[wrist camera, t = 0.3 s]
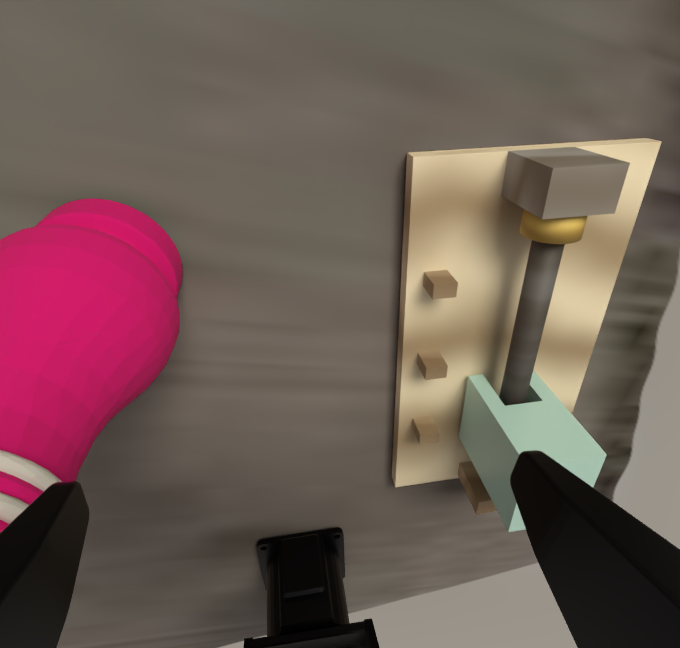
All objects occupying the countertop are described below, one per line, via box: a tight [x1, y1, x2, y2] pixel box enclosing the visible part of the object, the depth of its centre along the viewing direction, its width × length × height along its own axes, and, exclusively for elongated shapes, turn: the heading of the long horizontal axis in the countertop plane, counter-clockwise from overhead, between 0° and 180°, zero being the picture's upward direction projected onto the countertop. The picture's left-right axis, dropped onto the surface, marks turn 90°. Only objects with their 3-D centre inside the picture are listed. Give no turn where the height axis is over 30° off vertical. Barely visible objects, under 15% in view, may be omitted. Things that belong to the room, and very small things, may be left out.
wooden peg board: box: [392, 138, 662, 514], centre depth 25 cm, size 22×12×5 cm, turn 2°
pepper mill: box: [0, 199, 182, 532], centre depth 12 cm, size 7×7×20 cm
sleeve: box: [459, 370, 607, 532], centre depth 25 cm, size 5×4×7 cm
